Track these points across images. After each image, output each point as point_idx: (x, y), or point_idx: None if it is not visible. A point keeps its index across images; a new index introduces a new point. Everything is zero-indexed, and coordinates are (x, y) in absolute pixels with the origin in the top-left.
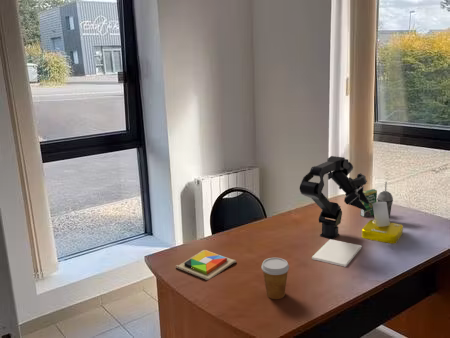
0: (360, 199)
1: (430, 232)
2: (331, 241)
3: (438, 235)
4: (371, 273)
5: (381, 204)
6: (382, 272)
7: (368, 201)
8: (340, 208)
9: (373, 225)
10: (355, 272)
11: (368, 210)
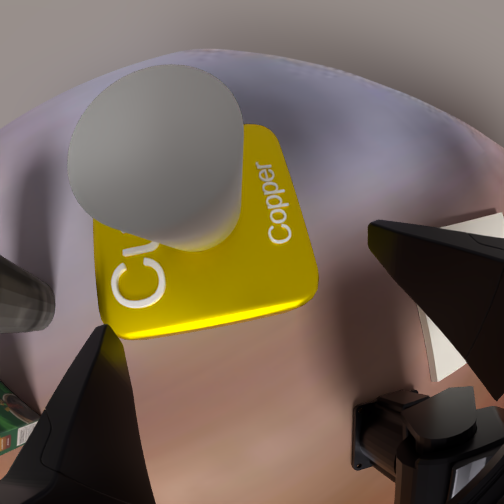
0: (140, 456)
1: (72, 115)
2: (449, 359)
3: (90, 91)
4: (468, 150)
5: (221, 83)
6: (447, 131)
7: (102, 331)
8: (451, 456)
9: (202, 271)
10: (491, 183)
11: (3, 405)
